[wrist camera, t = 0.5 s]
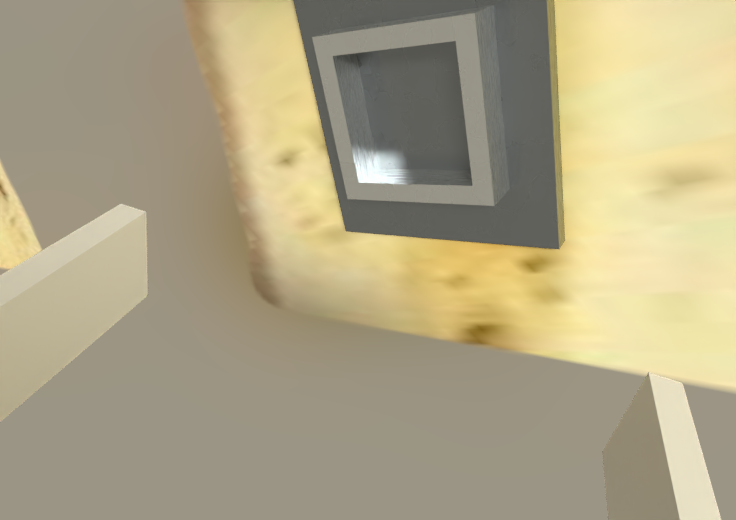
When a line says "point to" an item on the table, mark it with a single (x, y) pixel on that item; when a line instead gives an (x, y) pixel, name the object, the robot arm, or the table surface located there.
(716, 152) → the table surface
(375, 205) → the collar plate
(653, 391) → the robot arm
